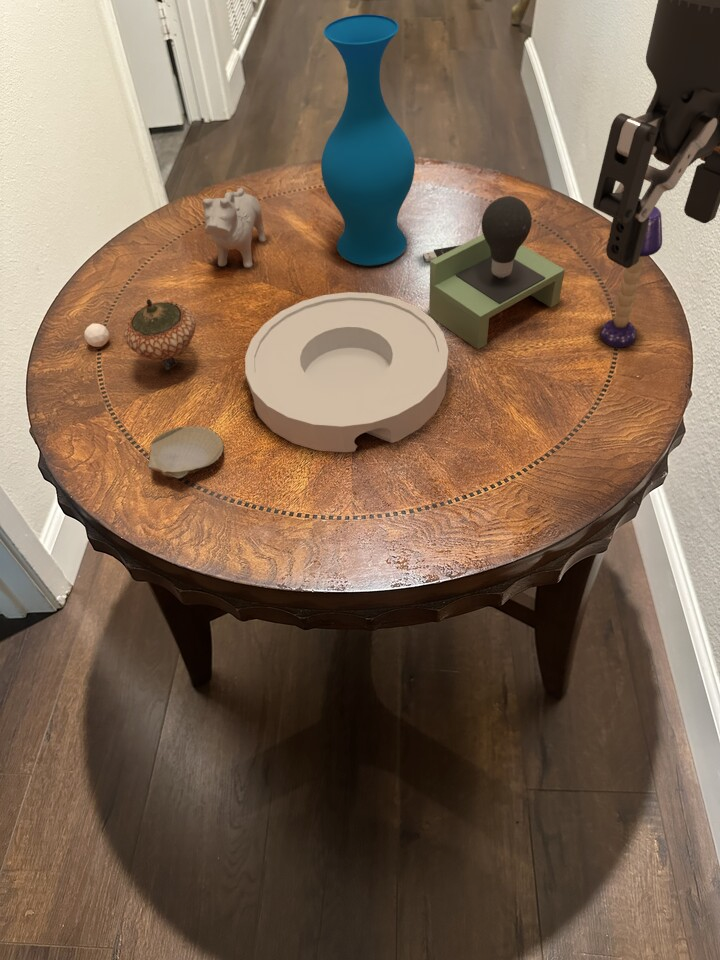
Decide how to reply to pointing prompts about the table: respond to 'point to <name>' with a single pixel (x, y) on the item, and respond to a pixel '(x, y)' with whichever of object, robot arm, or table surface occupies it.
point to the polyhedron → (96, 335)
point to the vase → (367, 148)
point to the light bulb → (505, 231)
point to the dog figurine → (233, 224)
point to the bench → (486, 287)
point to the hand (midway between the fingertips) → (660, 239)
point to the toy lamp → (632, 288)
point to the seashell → (184, 450)
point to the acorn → (160, 331)
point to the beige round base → (347, 370)
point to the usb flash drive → (437, 253)
